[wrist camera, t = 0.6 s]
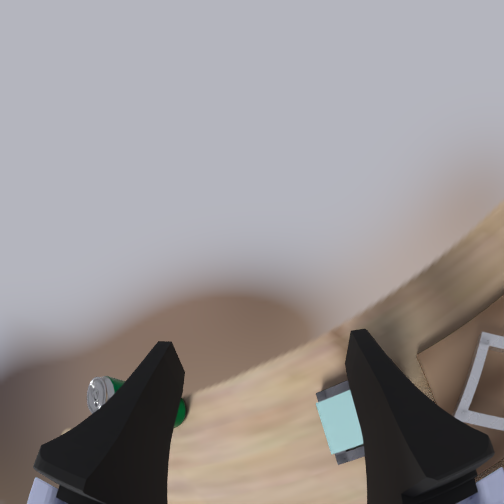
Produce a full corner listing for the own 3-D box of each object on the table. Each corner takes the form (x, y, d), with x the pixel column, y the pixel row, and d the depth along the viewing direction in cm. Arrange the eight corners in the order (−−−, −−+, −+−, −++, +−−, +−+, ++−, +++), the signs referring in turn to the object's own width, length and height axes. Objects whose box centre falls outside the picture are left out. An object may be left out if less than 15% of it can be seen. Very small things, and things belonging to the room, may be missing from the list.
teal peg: (395, 423, 19) (389, 433, 13) (355, 439, 20) (331, 454, 14) (382, 386, 21) (370, 380, 16) (342, 403, 22) (315, 403, 17)
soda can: (179, 385, 33) (101, 364, 25) (194, 417, 30) (111, 405, 21) (157, 404, 33) (82, 387, 25) (170, 434, 30) (90, 425, 21)
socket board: (560, 405, 8) (571, 404, 7) (460, 481, 12) (464, 488, 10) (511, 289, 18) (518, 278, 16) (416, 356, 21) (417, 352, 19)
